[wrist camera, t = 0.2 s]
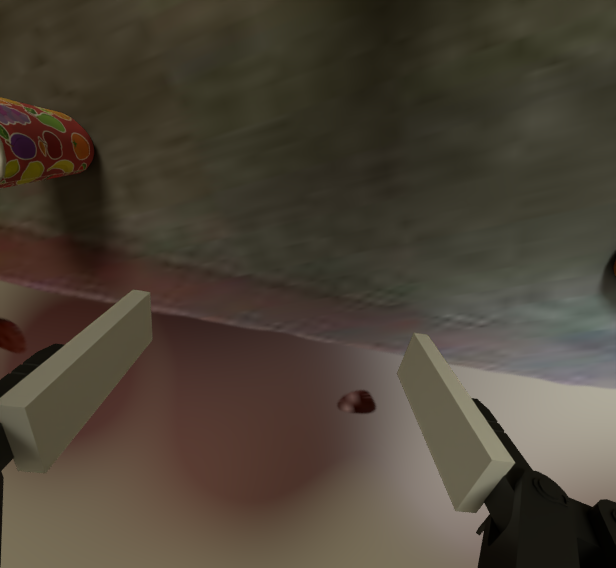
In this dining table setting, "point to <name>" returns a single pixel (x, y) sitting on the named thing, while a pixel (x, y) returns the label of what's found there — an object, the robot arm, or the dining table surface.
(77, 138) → the smoothie
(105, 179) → the dining table surface
